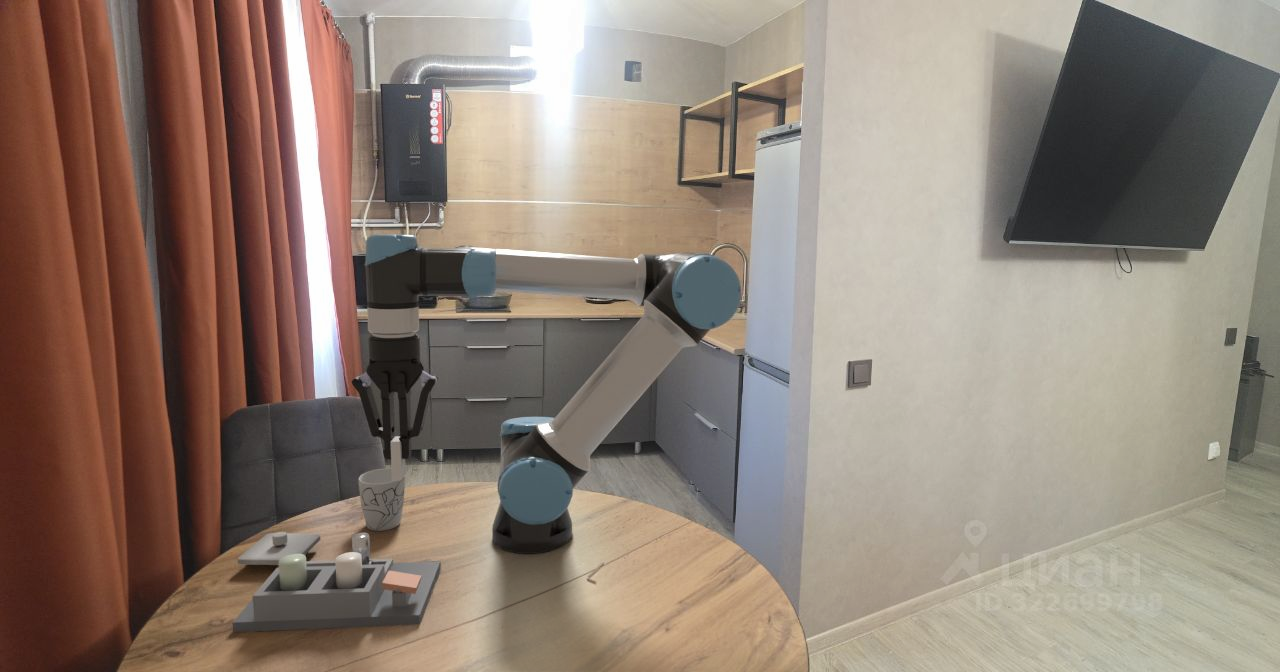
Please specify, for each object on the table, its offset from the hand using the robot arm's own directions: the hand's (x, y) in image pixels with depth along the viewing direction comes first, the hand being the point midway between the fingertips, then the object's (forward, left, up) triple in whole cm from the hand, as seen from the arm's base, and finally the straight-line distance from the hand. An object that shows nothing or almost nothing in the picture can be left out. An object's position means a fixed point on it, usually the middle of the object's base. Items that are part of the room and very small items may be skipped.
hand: (398, 477), depth 106 cm
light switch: (+22, -8, -18) cm, 30 cm away
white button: (+5, +9, -13) cm, 17 cm away
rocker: (-2, +9, -14) cm, 17 cm away
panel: (+7, +5, -18) cm, 20 cm away
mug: (+8, -23, -18) cm, 30 cm away
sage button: (+13, +9, -13) cm, 21 cm away
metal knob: (+6, 0, -16) cm, 17 cm away
